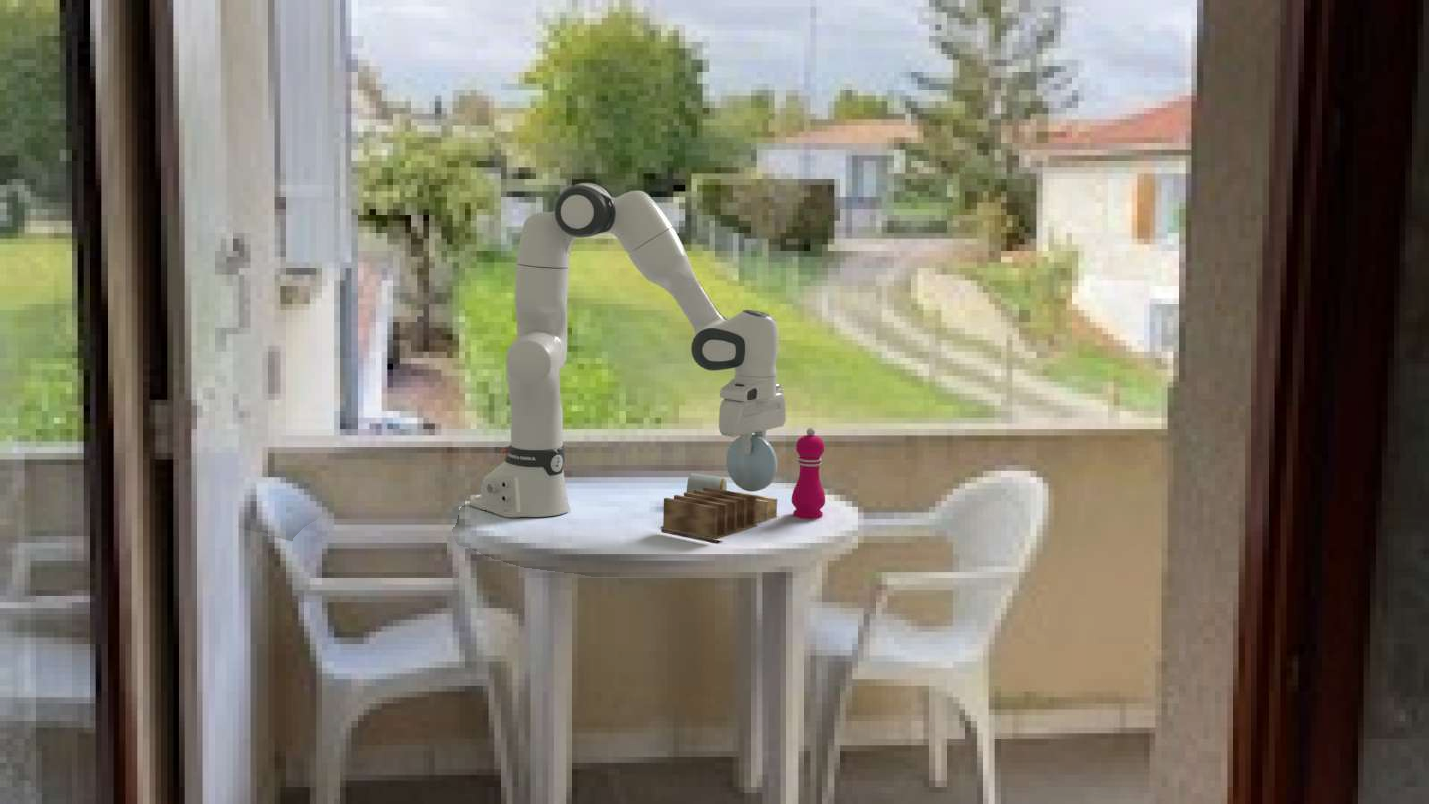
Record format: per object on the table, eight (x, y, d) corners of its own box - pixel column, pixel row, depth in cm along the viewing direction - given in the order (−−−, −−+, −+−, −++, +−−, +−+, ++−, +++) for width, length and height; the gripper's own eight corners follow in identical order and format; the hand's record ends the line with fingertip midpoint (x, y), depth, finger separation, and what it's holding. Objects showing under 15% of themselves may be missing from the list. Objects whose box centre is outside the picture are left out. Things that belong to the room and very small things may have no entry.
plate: (724, 486, 314) (728, 431, 312) (729, 485, 316) (732, 430, 314) (771, 496, 307) (774, 440, 306) (775, 494, 309) (779, 439, 307)
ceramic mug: (722, 513, 318) (723, 478, 317) (685, 511, 319) (685, 476, 318) (728, 503, 328) (729, 469, 327) (692, 501, 329) (693, 467, 328)
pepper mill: (783, 519, 314) (786, 427, 311) (806, 514, 319) (809, 423, 316) (809, 525, 309) (812, 432, 306) (831, 520, 314) (835, 428, 311)
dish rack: (661, 532, 300) (661, 497, 299) (702, 519, 312) (703, 486, 311) (716, 543, 292) (717, 508, 291) (757, 530, 304) (758, 496, 303)
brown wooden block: (724, 518, 313) (725, 495, 312) (740, 513, 318) (741, 491, 317) (763, 526, 307) (764, 502, 306) (779, 520, 312) (780, 498, 311)
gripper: (770, 381, 318) (767, 443, 320) (715, 390, 302) (712, 456, 304) (794, 384, 315) (791, 448, 317) (740, 394, 298) (736, 461, 300)
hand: (751, 452), depth 310 cm, fingers closed on plate, 2 cm apart
